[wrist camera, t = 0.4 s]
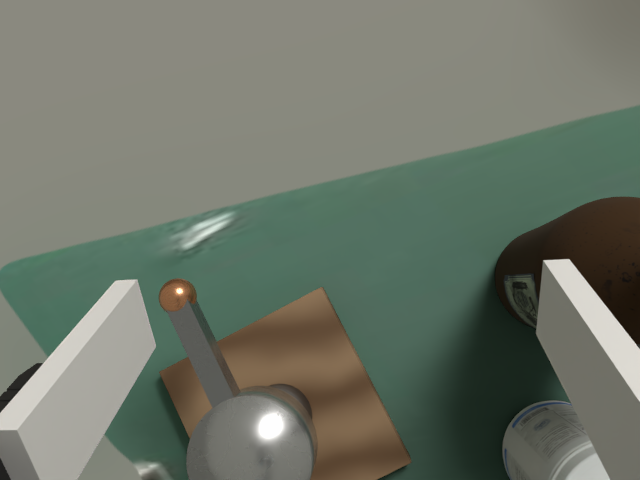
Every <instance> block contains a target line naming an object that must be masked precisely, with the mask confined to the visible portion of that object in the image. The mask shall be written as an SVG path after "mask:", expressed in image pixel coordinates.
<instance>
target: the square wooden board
mask: <svg viewBox="0 0 640 480" xmlns="http://www.w3.org/2000/svg"><path fill="white" fill-rule="evenodd" d="M217 344H218V346H219V348H220V350H221V352H222V354H223V356H224V358H225V360H226V362H227V365H228V367H229V369H230V371H231V373H232V375H233V377H234V379H235V381H236V383H237V385H238V387H239V390H240V389H243V388H246V387H251V386H269V387H274V388H277V389H280V390H282V391H285V392H286V393H288V394H290V395H291V396H293V397H294V398H295V399H297V400H298V401H299V402H300V403H301V404H302V405H303V407H304V408H305V409H306V411H307V412H308V414H309V415H310V417H311V419H312V421H313V424H314V426H315V430H316V433H317V440H318V451H317V458H316V463H315V466H314V469H313V472H312V475H311V478H310V480H377V479H379V478H381V477H383V476H385V475H387V474H389V473H391V472H393V471H395V470H397V469H399V468H401V467H403V466H405V465H407V464H409V463H411V458H410V455H409V453H408V451H407V450H406V448H405V446H404V444H403V442H402V440H401V438H400V436H399V434H398V432H397V430H396V428H395V426H394V424H393V422H392V420H391V418H390V417H389V415H388V413H387V411H386V409H385V407H384V405H383V403H382V401H381V399H380V397H379V395H378V393H377V391H376V389H375V387H374V385H373V384H372V382H371V380H370V378H369V376H368V374H367V372H366V370H365V368H364V366H363V364H362V362H361V360H360V358H359V356H358V354H357V352H356V351H355V349H354V347H353V345H352V343H351V341H350V339H349V337H348V335H347V333H346V331H345V329H344V327H343V325H342V323H341V321H340V319H339V318H338V316H337V314H336V312H335V310H334V308H333V306H332V304H331V302H330V300H329V298H328V296H327V294H326V292H325V290H324V288H323V287H321V288H319V289H317V290H315V291H313V292H311V293H309V294H307V295H305V296H303V297H302V298H300V299H298V300H296V301H294V302H292V303H290V304H288V305H286V306H284V307H282V308H281V309H279V310H277V311H275V312H273V313H271V314H269V315H267V316H265V317H263V318H261V319H260V320H258V321H256V322H254V323H252V324H250V325H248V326H246V327H244V328H242V329H240V330H239V331H237V332H235V333H233V334H231V335H229V336H227V337H225V338H223V339H221V340H219V341H218V342H217ZM159 373H160V375H161V377H162V379H163V382H164V384H165V386H166V388H167V390H168V392H169V395H170V397H171V399H172V401H173V403H174V405H175V408H176V410H177V412H178V414H179V416H180V419H181V421H182V423H183V425H184V427H185V429H186V432H187V434H188V436H189V438H191V435H192V433H193V431H194V429H195V427H196V425H197V424H198V423H199V421H200V420H201V419H202V418H203V416H204V415H205V414H206V413H207V412H209V411H210V410H211V409H212V406H211V404H210V402H209V400H208V398H207V395H206V393H205V391H204V389H203V387H202V385H201V383H200V381H199V378H198V376H197V374H196V372H195V370H194V368H193V366H192V364H191V361H190V359H189V357H187V358H185V359H183V360H181V361H179V362H177V363H176V364H174V365H172V366H170V367H168V368H166V369H164V370H162V371H160V372H159Z"/></svg>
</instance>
